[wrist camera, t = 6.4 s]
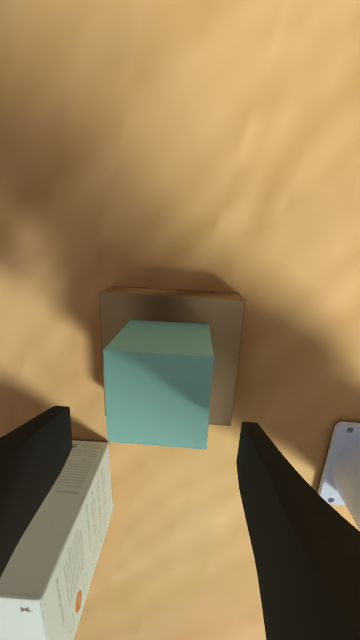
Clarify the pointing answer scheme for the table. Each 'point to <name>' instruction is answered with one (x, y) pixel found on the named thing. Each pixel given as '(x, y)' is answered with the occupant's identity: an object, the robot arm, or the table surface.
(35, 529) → the small box
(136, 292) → the walnut slab
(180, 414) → the teal block
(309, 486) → the robot arm
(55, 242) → the table surface
